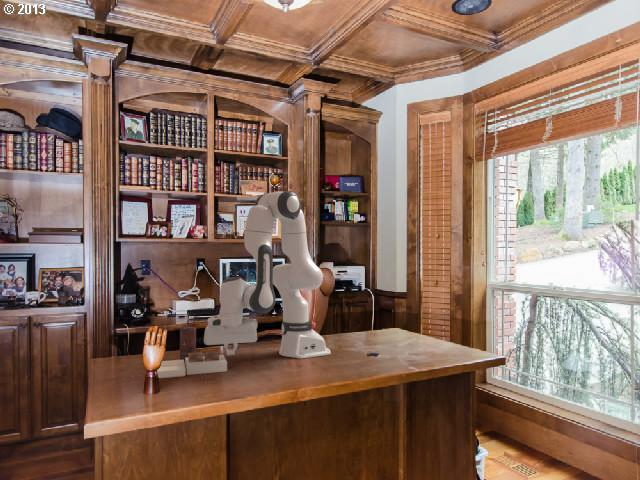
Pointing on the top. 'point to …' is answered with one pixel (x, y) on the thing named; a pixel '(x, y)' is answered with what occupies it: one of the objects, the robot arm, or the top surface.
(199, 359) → the tile
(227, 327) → the robot arm
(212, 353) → the tile
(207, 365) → the white holder base
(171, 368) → the tray
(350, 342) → the top surface
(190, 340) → the can
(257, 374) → the top surface
